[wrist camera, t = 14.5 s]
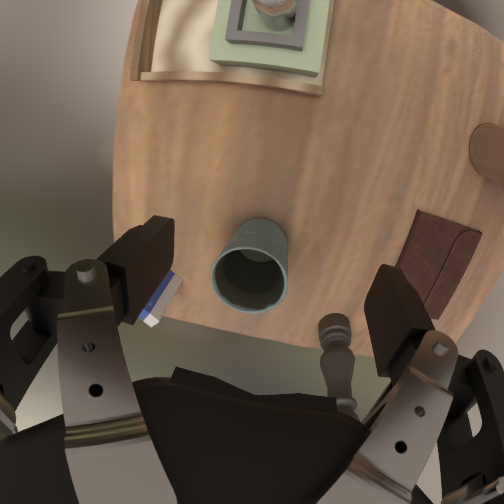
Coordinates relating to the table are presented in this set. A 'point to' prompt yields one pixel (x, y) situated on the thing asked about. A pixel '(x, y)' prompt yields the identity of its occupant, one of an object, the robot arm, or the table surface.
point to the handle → (276, 13)
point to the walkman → (160, 299)
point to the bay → (201, 49)
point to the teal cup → (252, 268)
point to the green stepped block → (269, 38)
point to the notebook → (437, 259)
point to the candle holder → (338, 360)
